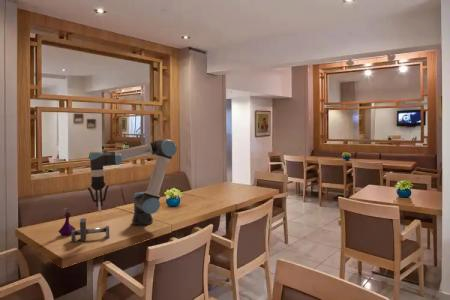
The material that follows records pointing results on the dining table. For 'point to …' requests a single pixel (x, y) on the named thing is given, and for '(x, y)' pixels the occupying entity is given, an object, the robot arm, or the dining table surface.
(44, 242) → the dining table surface
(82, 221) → the collar
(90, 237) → the dining table surface
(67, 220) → the perfume bottle
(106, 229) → the pipe stand
